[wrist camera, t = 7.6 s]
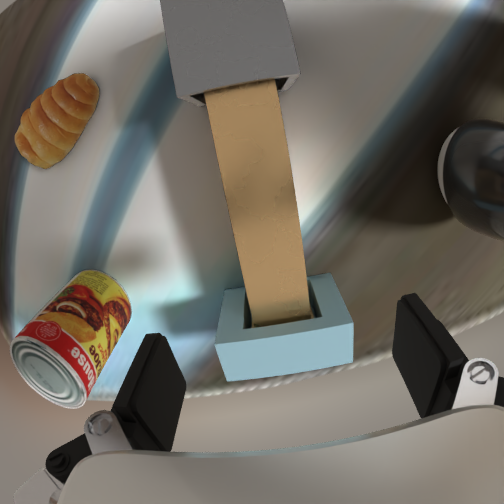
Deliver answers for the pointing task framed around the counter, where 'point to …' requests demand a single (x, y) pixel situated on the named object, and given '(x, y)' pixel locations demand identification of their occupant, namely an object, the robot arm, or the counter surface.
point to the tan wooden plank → (261, 199)
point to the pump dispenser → (475, 175)
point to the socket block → (284, 335)
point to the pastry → (56, 120)
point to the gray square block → (228, 45)
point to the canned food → (72, 338)
